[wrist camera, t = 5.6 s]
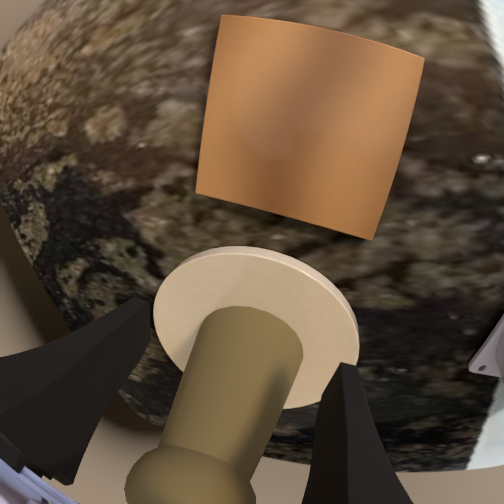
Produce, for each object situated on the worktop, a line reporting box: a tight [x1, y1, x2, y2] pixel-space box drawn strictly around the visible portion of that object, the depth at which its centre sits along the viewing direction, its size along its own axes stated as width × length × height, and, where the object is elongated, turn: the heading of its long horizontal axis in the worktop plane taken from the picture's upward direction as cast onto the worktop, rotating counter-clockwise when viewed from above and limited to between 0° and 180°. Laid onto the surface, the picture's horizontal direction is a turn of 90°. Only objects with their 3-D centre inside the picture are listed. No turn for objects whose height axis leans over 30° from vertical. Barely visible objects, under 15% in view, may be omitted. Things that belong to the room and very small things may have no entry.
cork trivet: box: [195, 15, 424, 241], centre depth 12 cm, size 8×8×1 cm
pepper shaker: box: [124, 306, 303, 504], centre depth 13 cm, size 6×6×11 cm
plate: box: [153, 246, 359, 409], centre depth 18 cm, size 12×12×1 cm
